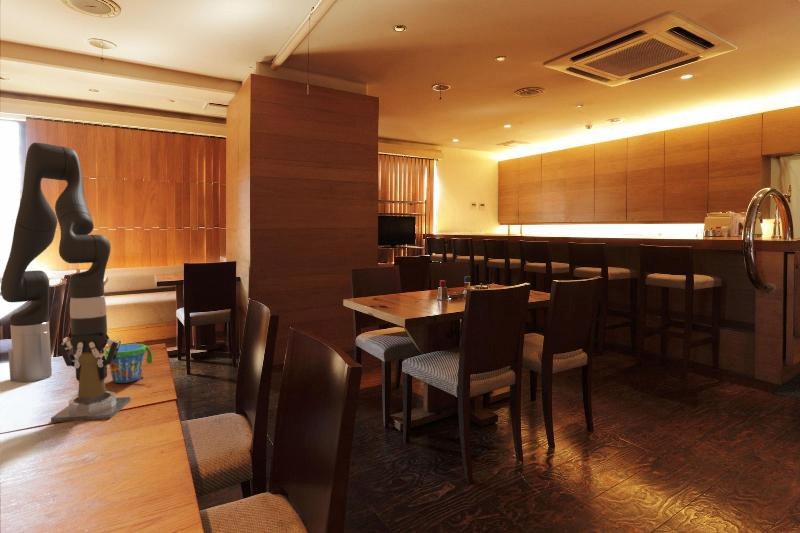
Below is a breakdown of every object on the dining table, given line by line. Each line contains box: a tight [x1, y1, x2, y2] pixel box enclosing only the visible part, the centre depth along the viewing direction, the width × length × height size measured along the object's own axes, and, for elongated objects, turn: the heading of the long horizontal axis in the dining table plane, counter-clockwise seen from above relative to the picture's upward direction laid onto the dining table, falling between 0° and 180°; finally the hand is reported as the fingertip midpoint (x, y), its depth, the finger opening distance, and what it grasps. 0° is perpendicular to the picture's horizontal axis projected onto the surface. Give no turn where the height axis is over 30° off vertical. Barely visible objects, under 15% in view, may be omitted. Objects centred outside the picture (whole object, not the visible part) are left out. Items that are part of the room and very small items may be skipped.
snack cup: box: [105, 343, 153, 384], centre depth 140 cm, size 16×10×10 cm
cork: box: [77, 352, 107, 398], centre depth 116 cm, size 6×6×11 cm
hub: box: [50, 390, 132, 423], centre depth 117 cm, size 13×12×3 cm
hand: (91, 380), depth 116 cm, fingers closed on cork, 4 cm apart
